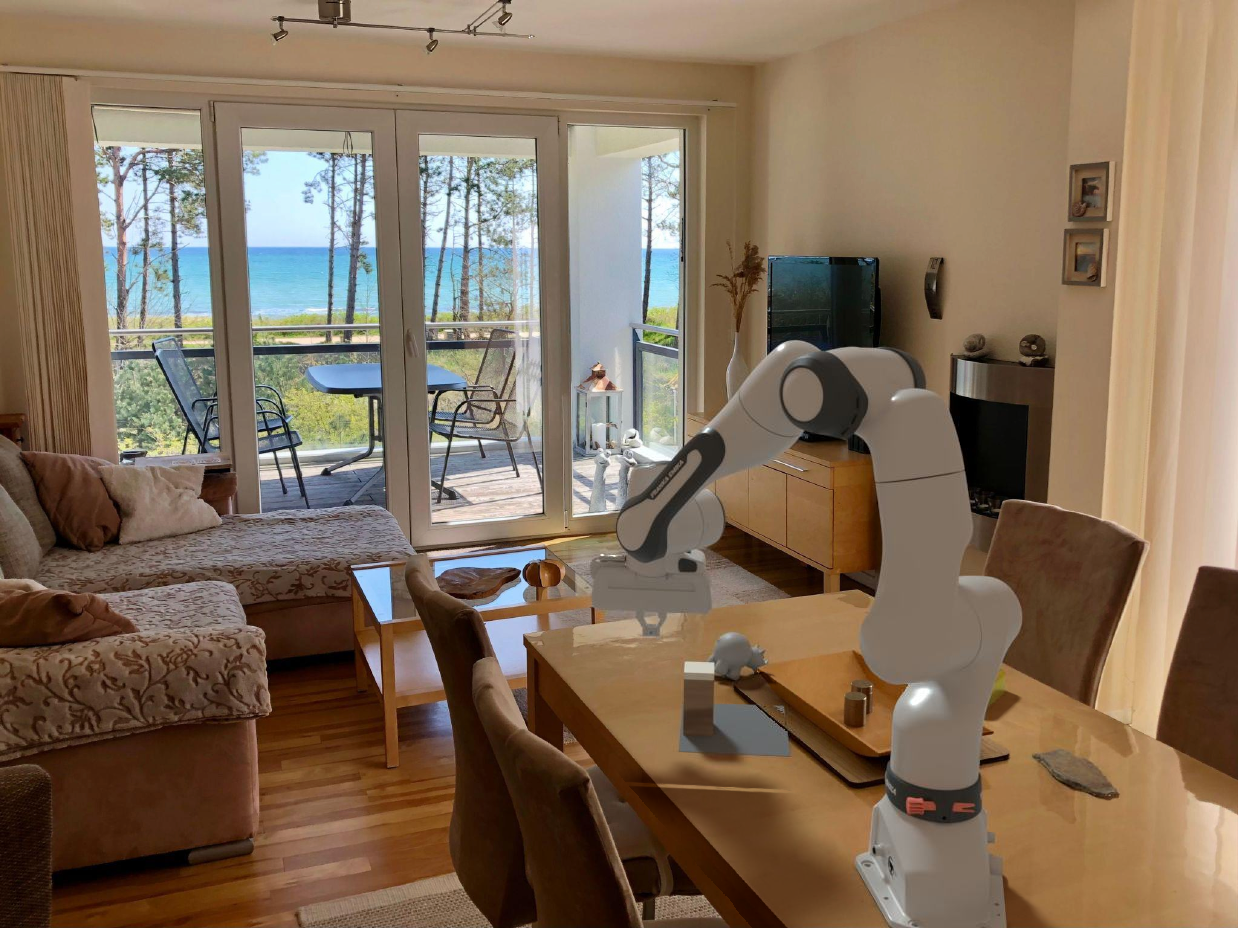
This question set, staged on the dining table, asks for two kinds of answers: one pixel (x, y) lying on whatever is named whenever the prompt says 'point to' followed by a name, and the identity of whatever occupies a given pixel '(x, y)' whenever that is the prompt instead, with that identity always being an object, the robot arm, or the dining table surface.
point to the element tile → (998, 687)
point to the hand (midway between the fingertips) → (651, 635)
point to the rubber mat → (739, 733)
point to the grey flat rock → (1076, 772)
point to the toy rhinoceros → (735, 655)
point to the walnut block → (698, 698)
